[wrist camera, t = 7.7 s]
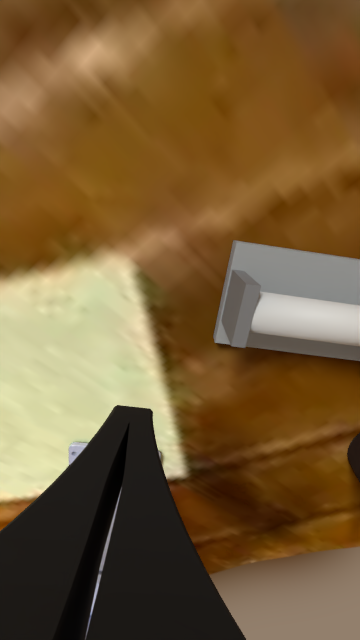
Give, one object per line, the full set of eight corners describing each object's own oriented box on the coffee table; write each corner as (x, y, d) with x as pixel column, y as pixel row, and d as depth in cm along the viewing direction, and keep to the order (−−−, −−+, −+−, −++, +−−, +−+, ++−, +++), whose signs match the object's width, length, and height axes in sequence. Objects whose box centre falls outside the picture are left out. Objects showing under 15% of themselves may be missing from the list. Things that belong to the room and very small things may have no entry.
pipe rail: (414, 362, 21) (478, 403, 17) (213, 336, 20) (223, 372, 16) (461, 274, 19) (552, 294, 14) (233, 240, 18) (252, 250, 13)
